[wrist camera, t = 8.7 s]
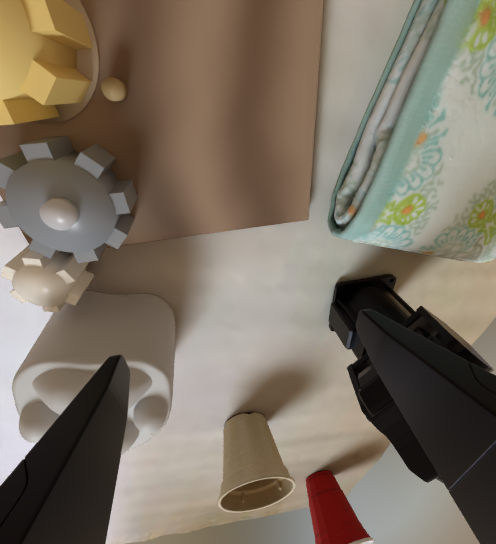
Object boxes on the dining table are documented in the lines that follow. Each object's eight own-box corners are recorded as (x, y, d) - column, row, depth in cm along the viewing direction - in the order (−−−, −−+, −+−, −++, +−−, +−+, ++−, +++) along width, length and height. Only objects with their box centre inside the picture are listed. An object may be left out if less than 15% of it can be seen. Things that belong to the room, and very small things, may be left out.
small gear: (64, 227, 18) (40, 250, 16) (107, 274, 21) (92, 300, 18) (13, 251, 19) (-17, 276, 17) (61, 293, 22) (40, 320, 19)
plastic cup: (336, 482, 60) (364, 558, 50) (290, 491, 58) (311, 572, 48) (350, 460, 54) (386, 540, 44) (300, 469, 52) (326, 556, 42)
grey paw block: (179, 295, 24) (175, 377, 17) (171, 383, 31) (166, 469, 24) (47, 288, 22) (-22, 383, 15) (69, 387, 28) (29, 485, 21)
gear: (118, 131, 16) (100, 139, 13) (149, 234, 19) (141, 261, 16) (-8, 141, 15) (-59, 154, 12) (50, 247, 19) (22, 278, 15)
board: (320, -94, 13) (346, -130, 11) (302, 214, 22) (315, 227, 20) (-150, -98, 11) (-234, -146, 9) (44, 248, 20) (26, 267, 18)
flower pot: (233, 399, 35) (244, 476, 28) (288, 409, 39) (311, 479, 32) (200, 436, 39) (203, 513, 31) (254, 442, 43) (267, 511, 35)
